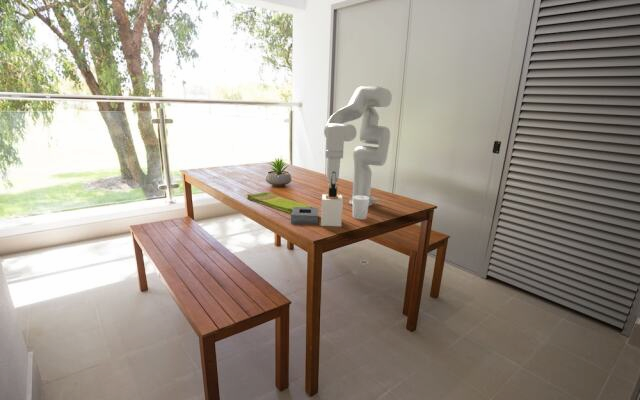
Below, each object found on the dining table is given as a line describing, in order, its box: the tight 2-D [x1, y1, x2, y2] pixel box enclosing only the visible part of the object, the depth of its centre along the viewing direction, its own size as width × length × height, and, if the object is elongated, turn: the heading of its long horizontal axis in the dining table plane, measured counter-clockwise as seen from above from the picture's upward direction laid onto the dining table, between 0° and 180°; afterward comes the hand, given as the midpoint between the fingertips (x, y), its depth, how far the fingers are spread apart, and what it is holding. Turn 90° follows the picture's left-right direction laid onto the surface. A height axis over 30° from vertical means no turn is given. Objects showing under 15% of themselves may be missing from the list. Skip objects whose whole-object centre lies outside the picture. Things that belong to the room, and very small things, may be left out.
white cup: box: [351, 195, 369, 220], centre depth 156 cm, size 8×8×10 cm
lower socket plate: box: [290, 206, 319, 225], centre depth 152 cm, size 12×12×4 cm
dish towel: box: [246, 191, 312, 215], centre depth 175 cm, size 15×36×3 cm, turn 49°
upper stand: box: [320, 193, 344, 227], centre depth 148 cm, size 9×9×12 cm
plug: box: [327, 182, 339, 199], centre depth 146 cm, size 4×4×9 cm
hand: (332, 194), depth 146 cm, fingers closed on plug, 4 cm apart
